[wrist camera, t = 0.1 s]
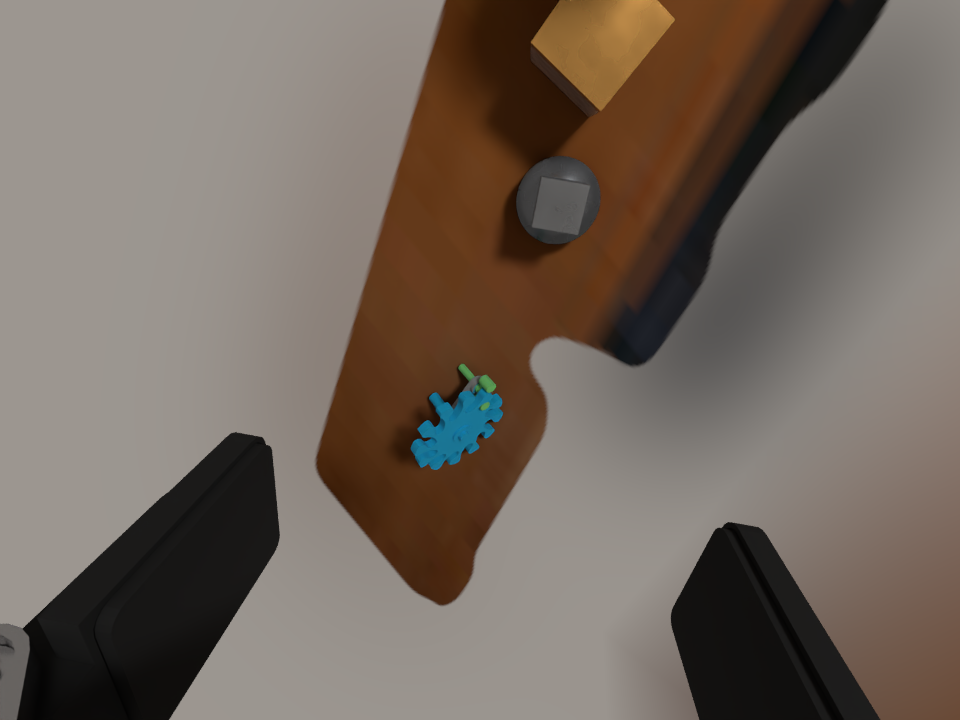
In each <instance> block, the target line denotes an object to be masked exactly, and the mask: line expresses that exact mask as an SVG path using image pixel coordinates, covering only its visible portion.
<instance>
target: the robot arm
mask: <svg viewBox="0 0 960 720" xmlns="http://www.w3.org/2000/svg"><path fill="white" fill-rule="evenodd" d="M279 536H280V534H279V522H278V511H277V501H276V489H275V478H274V467H273V456H272V449H271V447H270V446H268V445H266V444H265V441H264V439H263V438H262V437H258V436H253V435H247V434H242V433H236V432H235V433H231V434H230V435H229V436H227V437H226V438H225V439H224V440H223V441H222V442H221V443H220V444H219V445H218V446H217V447H216V448H215V449H214V450H213V451H211V452H210V453H209V454H208V455H207V456H206V457H205V458H204V459H203V460H202V461H201V462H200V463H199V464H198V465H197V466H196V467H195V468H194V469H193V470H191V471H190V472H189V473H188V474H187V475H186V476H185V477H184V478H183V479H182V480H181V481H180V482H179V483H178V484H177V485H176V486H175V487H174V488H173V489H171V490H170V491H169V492H168V493H166V494H165V495H164V496H163V497H161V498H160V499H159V500H158V501H157V502H156V503H155V504H154V505H153V506H152V507H151V508H149V509H148V510H147V511H146V512H145V513H144V514H143V515H142V516H141V517H140V518H139V519H138V520H137V521H136V522H135V523H134V524H133V525H131V526H130V527H129V528H128V530H126V531H125V532H124V533H123V534H122V535H121V536H120V537H119V538H118V539H117V540H116V541H115V542H114V543H112V544H111V545H110V546H109V547H108V548H107V549H106V550H105V551H104V552H103V553H102V554H101V555H100V556H99V557H98V558H97V559H96V560H95V561H94V562H93V563H91V564H90V565H89V566H88V567H87V568H86V569H85V570H84V571H83V572H82V573H81V574H80V575H79V576H78V577H77V578H76V579H74V580H73V581H72V582H71V583H70V584H69V585H68V586H67V587H66V588H65V589H64V590H63V591H62V592H61V593H60V594H59V595H58V596H57V597H55V598H54V599H53V600H52V601H51V602H50V603H49V604H48V605H47V606H46V607H45V608H44V609H43V610H42V611H41V612H40V613H39V614H38V615H36V616H35V617H34V618H33V619H32V620H31V621H30V622H29V623H28V624H27V625H26V626H25V627H24V628H23V629H22V628H20V627H17V626H13V625H10V624H0V720H169V719H170V717H171V716H172V714H173V712H174V711H175V709H176V707H177V706H178V704H179V703H180V701H181V700H182V698H183V697H184V695H185V693H186V692H187V690H188V689H189V687H190V686H191V684H192V682H193V681H194V679H195V677H196V676H197V674H198V673H199V671H200V670H201V668H202V667H203V665H204V663H205V662H206V660H207V659H208V657H209V655H210V654H211V652H212V651H213V649H214V647H215V646H216V644H217V643H218V641H219V640H220V638H221V636H222V635H223V633H224V632H225V630H226V628H227V627H228V625H229V624H230V622H231V621H232V619H233V617H234V616H235V614H236V613H237V611H238V609H239V608H240V606H241V604H242V603H243V601H244V600H245V598H246V597H247V595H248V594H249V592H250V590H251V589H252V587H253V586H254V584H255V583H256V581H257V579H258V578H259V576H260V575H261V573H262V571H263V570H264V568H265V566H266V565H267V563H268V562H269V560H270V559H271V557H272V556H273V554H274V552H275V550H276V548H277V546H278V542H279ZM671 625H672V630H673V633H674V636H675V640H676V643H677V646H678V650H679V653H680V656H681V660H682V663H683V666H684V670H685V673H686V676H687V679H688V683H689V687H690V690H691V693H692V697H693V700H694V703H695V706H696V710H697V713H698V717H699V720H880V719H879V717H878V715H877V714H876V712H875V710H874V709H873V707H872V705H871V704H870V703H869V701H868V699H867V697H866V696H865V694H864V693H863V691H862V690H861V688H860V686H859V685H858V683H857V681H856V680H855V678H854V676H853V675H852V673H851V671H850V670H849V668H848V667H847V665H846V663H845V662H844V660H843V658H842V657H841V655H840V654H839V652H838V650H837V649H836V647H835V646H834V644H833V642H832V641H831V639H830V637H829V636H828V634H827V633H826V631H825V629H824V628H823V626H822V624H821V623H820V621H819V620H818V618H817V616H816V615H815V613H814V611H813V610H812V608H811V606H810V605H809V603H808V602H807V600H806V599H805V597H804V595H803V594H802V592H801V590H800V589H799V587H798V585H797V584H796V582H795V581H794V579H793V577H792V576H791V574H790V572H789V571H788V569H787V568H786V566H785V564H784V563H783V561H782V560H781V558H780V556H779V555H778V553H777V551H776V550H775V548H774V546H773V545H772V543H771V542H770V540H769V538H768V537H767V535H766V534H765V532H763V530H762V529H760V528H759V527H754V526H748V525H743V524H737V523H732V522H731V523H730V522H728V523H726V524H725V525H724V526H723V527H722V528H717V529H716V530H715V531H714V532H713V534H712V536H711V538H710V540H709V542H708V543H707V545H706V547H705V549H704V551H703V553H702V555H701V556H700V558H699V561H698V562H697V564H696V566H695V568H694V570H693V572H692V573H691V575H690V577H689V579H688V581H687V583H686V584H685V586H684V588H683V590H682V592H681V594H680V596H679V597H678V599H677V601H676V603H675V605H674V607H673V609H672V613H671Z"/></svg>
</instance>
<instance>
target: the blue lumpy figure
mask: <svg viewBox="0 0 960 720" xmlns="http://www.w3.org/2000/svg"><path fill="white" fill-rule="evenodd" d="M458 369H459V370H460V371H461V373H462V374H463V375H464V376H465V377H466V378H467V380H468V381H469V383H468V384H467V386H466V387H465V388H464V390H463V391H462V392H461V393H460V394H459V396H458V398H457V400H456V401H455V402H454V404H453V405H452V406H450V404H449V403H448V402H446V403H445V402H444V401H443V400H442V398H441V397H440V396H439V395H438V393H433V394H432V395H431V396H430V397H429V399H430V401H431V402H432V403H433V405H434V406H435V407H436V412H437V413H438V415H439V416H440V423H439V425H438V426H436V427H434V426H433V425H432V423H431V422H430V421H429V420H426V421H425V422H424V423H423V424H422V425H421V426H420V427H419V428H418V431H419V432H420V434H421V435H422V437H424V438H426V437H432V438H431V439H430V440H428V441H425V442H424V441H423V440H422V439H417V440H415V441H414V442H413V444H412V446H411V450H412V452H413V453H414V455H415V459H416V461H417V462H418V464H419V465H420V467H424V466H426V465H427V464H429V465H430V467H431V468H432V469H434V470H437V469H439V468H440V467H441V466H442V464H443V462H444V461H445V460H447V462H448V463H449V465H452V464H455V463H458V462H459V460H460V456H461V453H462V451H463V450H464V448H465V449H466V450H467V451H468V453H469V454H470V453H472V452H474V451H476V450H477V449H478V448H479V445H478V444H477V442H476V439H477V436H478V435H479V434H480V433H481V434H482V435H483V436H484V438H488V437H489V436H490V435H491V434H492V433H493V432H494V431H495V430H494V429H493V427H492V426H491V425H490V424H485V423H486V422H487V421H488V420H490V419H492V420H493V421H494V422H498V421H499V420H500V419H501V417H502V415H503V412H502V411H501V410H500V409H499V407H501V405H502V399H501V398H500V397H499V395H498V394H494V395H492V394H491V393H490V392H492V391H493V390H494V389H495V388H496V384H495V383H494V382H493V381H492V380H491V379H490V378H489V377H488V376H487V375H484V376H482V377H481V376H476V377H475V376H474V375H473V374H472V373H471V371H470V370H469V369H468V368H467V367H466V366H465V365H464V364H461V365H460V366H459V368H458ZM490 409H492V410H490ZM488 410H489V411H488Z"/></svg>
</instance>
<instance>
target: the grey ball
mask: <svg viewBox="0 0 960 720" xmlns="http://www.w3.org/2000/svg"><path fill="white" fill-rule="evenodd" d="M599 206H600V189H599V185H598V182H597V179H596V177H595V175H594V174H593V172H592V171H591V170H590V169H589V168H588V167H587V166H586V165H585V164H584V163H582V162H580V161H579V160H576V159H574V158H570V157H566V156H553V157H549V158H546V159H543V160H541V161H539V162H538V163H536V164H535V165H534V166H533V167H531V168H530V169H529V171H528V172H527V173H526V174H525V176H524V177H523V179H522V181H521V183H520V186H519V189H518V193H517V200H516V207H517V213H518V217H519V219H520V222H521V224H522V225H523V227H524V228H525V230H526V231H527V232H528V233H529V234H530V235H531V236H533V237H534V238H535V239H537V240H539V241H542V242H544V243H549V244H562V243H567V242H570V241H572V240H575V239H576V238H578V237H580V236H581V235H582V234H584V233H585V232H586V231H587V230H588V229H589V227H590V226H591V225H592V223H593V222H594V220H595V218H596V216H597V213H598V210H599Z"/></svg>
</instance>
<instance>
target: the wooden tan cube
mask: <svg viewBox="0 0 960 720" xmlns="http://www.w3.org/2000/svg"><path fill="white" fill-rule="evenodd" d="M674 20H675V19H674V18H673V17H672V16H671V15H670V14H669V12H668V11H667V10H666V9H665V8H664V7H663V6H662V5H661V4H660V3H659V1H658V0H560V1H559V2H558V4H557V5H556V6H555V8H554V9H553V11H552V12H551V14H550V15H549V17H548V18H547V19H546V21H545V22H544V24H543V25H542V27H541V28H540V30H539V31H538V33H537V34H536V35H535V37H534V38H533V40H532V41H531V58H530V60H531V61H532V62H533V63H534V64H535V65H536V66H537V67H538V68H539V69H540V70H541V71H542V72H543V73H544V74H545V75H546V76H547V77H548V78H549V79H550V80H551V81H552V82H553V83H554V84H555V85H556V86H557V87H558V88H559V89H560V90H561V91H562V92H563V93H564V94H565V95H566V96H567V97H568V98H570V99H571V100H572V101H573V102H574V103H575V104H576V105H577V106H578V107H579V108H580V109H581V110H582V111H583V112H584V113H585V114H586V115H587V116H588V117H591V116H593V115H595V114H597V113H598V112H600V111H601V110H602V109H603V108H604V107H605V105H606V104H607V103H608V102H609V101H610V99H611V98H612V97H613V96H614V94H615V93H616V92H617V91H618V89H619V88H620V87H621V86H622V84H623V83H624V82H625V81H626V80H627V78H628V77H629V76H630V75H631V73H632V72H633V71H634V70H635V68H636V67H637V66H638V65H639V63H640V62H641V61H642V60H643V59H644V57H645V56H646V55H647V54H648V52H649V51H650V50H651V49H652V47H653V46H654V45H655V44H656V43H657V41H658V40H659V39H660V38H661V36H662V35H663V34H664V33H665V31H666V30H667V29H668V28H669V26H670V25H671V24H672V23H673V22H674Z"/></svg>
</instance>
